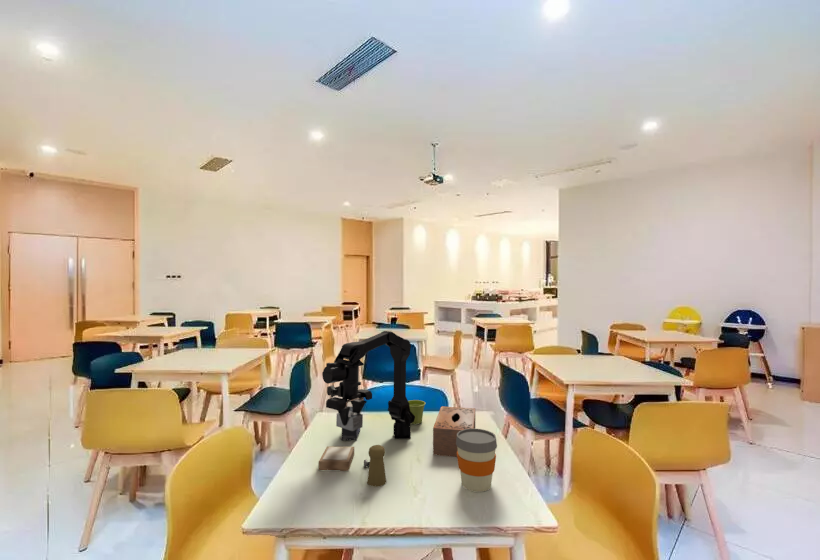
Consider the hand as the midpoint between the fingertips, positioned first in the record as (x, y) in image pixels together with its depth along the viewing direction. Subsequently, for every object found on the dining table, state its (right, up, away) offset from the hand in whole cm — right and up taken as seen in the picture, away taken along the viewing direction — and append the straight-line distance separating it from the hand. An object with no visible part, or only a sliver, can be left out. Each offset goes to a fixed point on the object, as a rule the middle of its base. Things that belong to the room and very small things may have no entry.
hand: (349, 423), depth 139 cm
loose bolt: (+9, -12, -6) cm, 16 cm away
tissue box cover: (+40, -13, +14) cm, 44 cm away
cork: (+11, -12, -17) cm, 24 cm away
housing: (0, -1, 0) cm, 1 cm away
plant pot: (+24, -13, +36) cm, 45 cm away
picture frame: (-4, -12, -4) cm, 13 cm away
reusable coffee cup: (+42, -12, -18) cm, 48 cm away
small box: (-2, -13, +20) cm, 24 cm away
